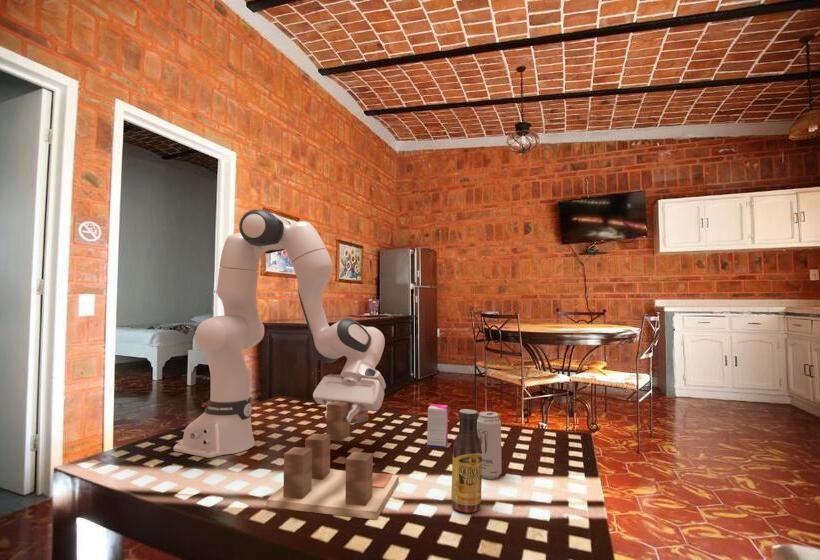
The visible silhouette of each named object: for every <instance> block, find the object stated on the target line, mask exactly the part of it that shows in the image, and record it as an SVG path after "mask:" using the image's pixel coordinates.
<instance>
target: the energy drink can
mask: <svg viewBox="0 0 820 560" xmlns="http://www.w3.org/2000/svg"><path fill="white" fill-rule="evenodd" d="M477 434H478V437H479V439H480V441H481V448H482V479H485V478H486V479H485V480H496V479H495V478H497V479H499V478H498V477H500V476H501V474H502V473H503V472H502V469H503V468H502V421H501V419H500V416H499V412H498V413H497V412H493V411H480V412H478V419H477ZM487 478H488V479H487Z"/></svg>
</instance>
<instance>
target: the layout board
mask: <svg viewBox="0 0 820 560" xmlns="http://www.w3.org/2000/svg"><path fill="white" fill-rule="evenodd" d="M304 439H305V442H304V444H305V447H300V446H299V447H298V446H297V447H296V446H292V448H290V449H288V451H286V452H284V453H283V486H281V487H280V488H279V489H278V490H276V491H275V492H274V493H273V494H272V495H270V496H269V497H268V498H267V499H266V508H275V509H283V510H290V511H291V510H292V511H299V512H307V513H317V514H325V515H334V516H341V517H342V516H343V517H348V518H349V517H350V518H359V519H368V520H378V518H379V516H380V515H381V513H382V511H383V510H384V507H385V506H386V505H387V503H388V501H389V499H390V498H391V496H392V494H393V492H394V491H395V489H396V487H397V486H398V484H399V481H400V480H399V479H400V478H399V477H400V476H399V475H393V474H389V473H388V474H387V473H375V472H373V466H374V465H373V463H374V461H373V460H374V453H372V452H360V451H353V452H351V454H349V455H348V456H347V458H345V470H340V469H331V440H330V435H326V433H325V434H324V433H312V434H311V435H309V436H307V438H304Z"/></svg>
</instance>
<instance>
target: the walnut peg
mask: <svg viewBox="0 0 820 560" xmlns="http://www.w3.org/2000/svg"><path fill="white" fill-rule="evenodd" d="M326 411H327V419H326V431H325V432H326V433H325V434H326V435H330V441H337V442H342V441H344V440H345V439H347V438H349V437H350V434H351V433H350V428H351V427H350V425H351V423H350V422H345V420H344V416H345V413H349V412H350V403H349V402H340V401H334V402H331V403H329V404H327V409H326Z"/></svg>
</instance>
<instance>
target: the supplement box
mask: <svg viewBox="0 0 820 560" xmlns="http://www.w3.org/2000/svg"><path fill="white" fill-rule="evenodd" d="M426 429H427V430H426V437H427V438H426V441H427V442H426V447H427V448H437V449H446V447H447V445H448V439H449V437H448V436H449V435H448V434H449V405H447V404H435V403H434V404H433V403H431V404H429V406H428V408H427V428H426Z"/></svg>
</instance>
